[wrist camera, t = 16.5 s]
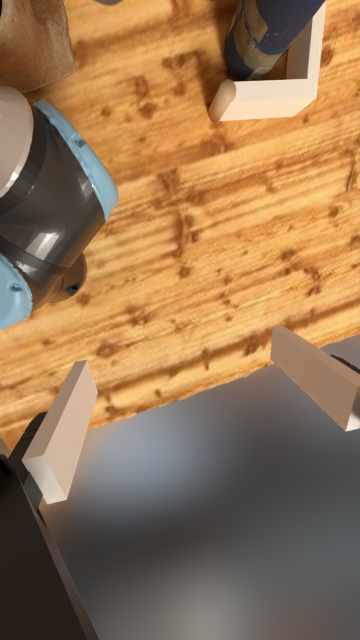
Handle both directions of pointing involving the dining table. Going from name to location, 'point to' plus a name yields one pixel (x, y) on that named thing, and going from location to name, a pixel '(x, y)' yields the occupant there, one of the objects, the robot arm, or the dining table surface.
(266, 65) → the canister
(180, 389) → the dining table surface
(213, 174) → the dining table surface
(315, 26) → the bracket
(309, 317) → the dining table surface
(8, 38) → the stone cup
